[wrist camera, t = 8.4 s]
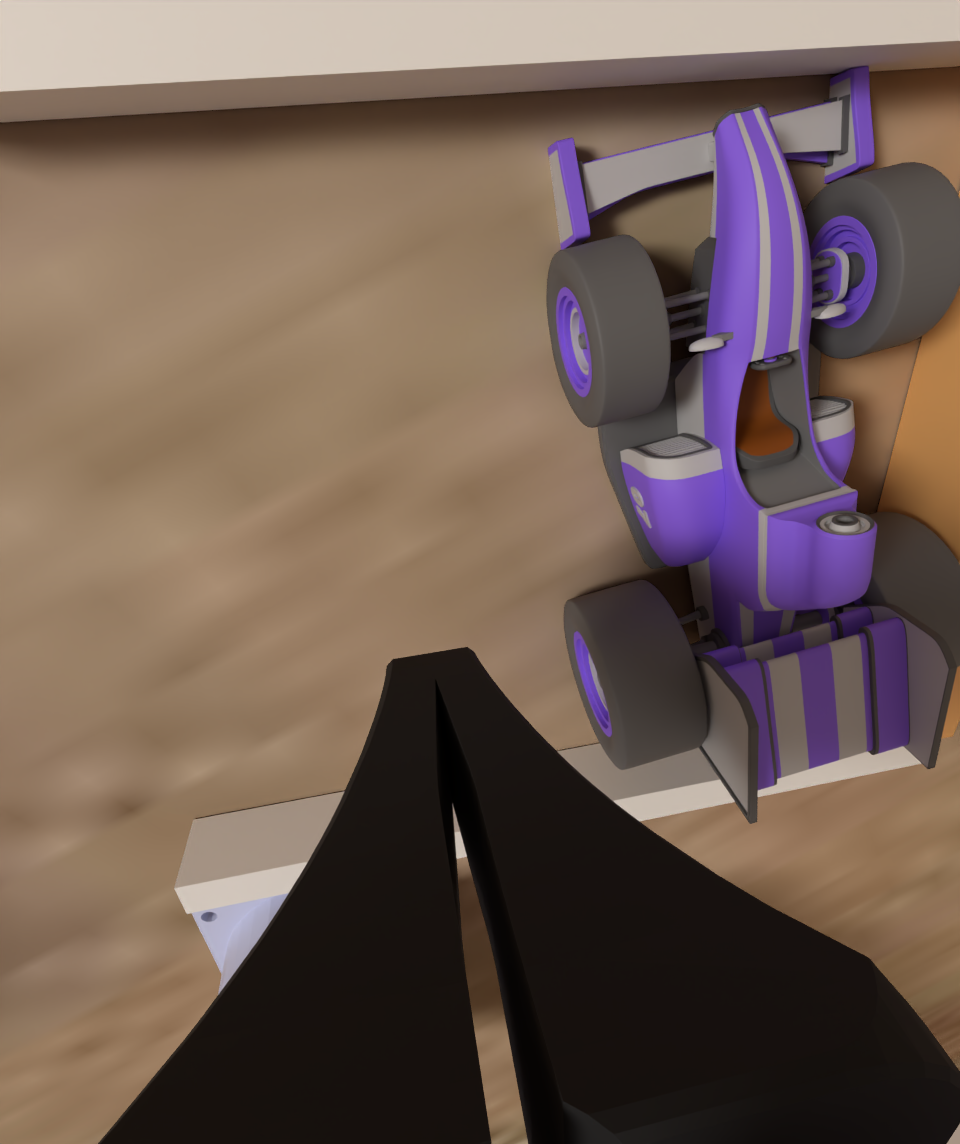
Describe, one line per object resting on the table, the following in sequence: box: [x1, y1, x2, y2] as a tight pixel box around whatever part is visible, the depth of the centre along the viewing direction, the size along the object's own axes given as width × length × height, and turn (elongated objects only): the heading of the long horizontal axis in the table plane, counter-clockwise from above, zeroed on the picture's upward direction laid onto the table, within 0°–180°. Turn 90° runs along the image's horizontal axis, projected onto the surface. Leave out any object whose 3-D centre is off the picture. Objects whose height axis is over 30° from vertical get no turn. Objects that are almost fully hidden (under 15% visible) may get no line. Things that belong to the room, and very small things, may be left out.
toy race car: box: [547, 66, 960, 824], centre depth 14 cm, size 10×15×6 cm, turn 12°
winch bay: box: [0, 0, 960, 914], centre depth 14 cm, size 20×27×6 cm
